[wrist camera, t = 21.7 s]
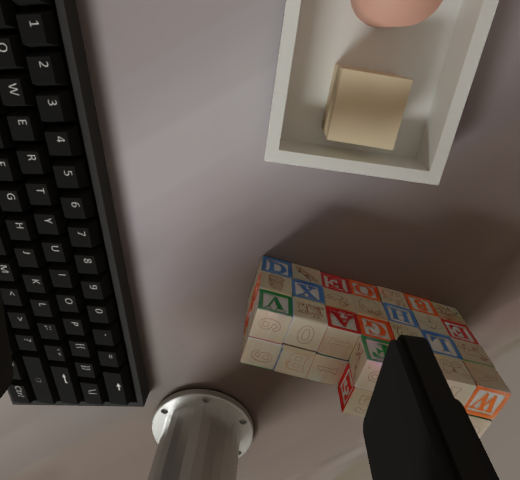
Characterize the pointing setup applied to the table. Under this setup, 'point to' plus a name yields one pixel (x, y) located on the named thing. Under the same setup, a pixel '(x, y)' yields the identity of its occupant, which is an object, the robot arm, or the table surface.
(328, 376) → the stack of blocks
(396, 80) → the cube
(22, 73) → the computer keyboard
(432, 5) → the smooth tan pebble
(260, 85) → the table surface
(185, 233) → the table surface
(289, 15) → the tote
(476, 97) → the table surface
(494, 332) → the table surface
